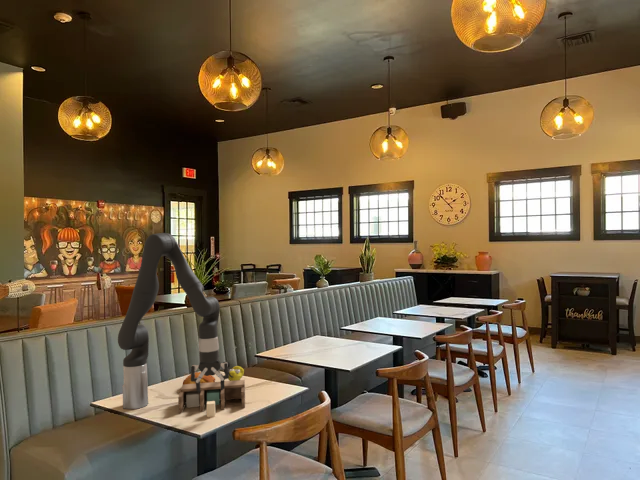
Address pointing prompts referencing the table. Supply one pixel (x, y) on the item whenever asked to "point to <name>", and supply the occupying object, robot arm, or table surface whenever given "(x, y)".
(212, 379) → the croissant
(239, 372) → the toy
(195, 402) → the plain block
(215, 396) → the block
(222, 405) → the lane shelf
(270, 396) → the table surface
